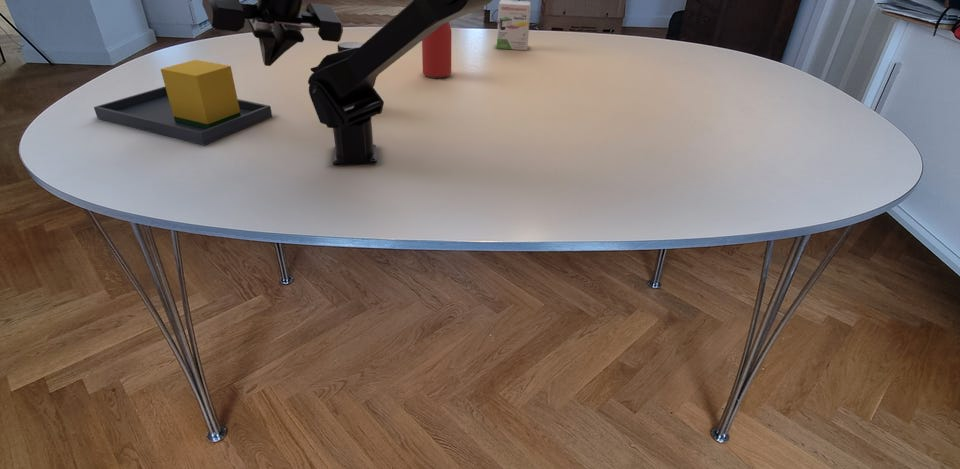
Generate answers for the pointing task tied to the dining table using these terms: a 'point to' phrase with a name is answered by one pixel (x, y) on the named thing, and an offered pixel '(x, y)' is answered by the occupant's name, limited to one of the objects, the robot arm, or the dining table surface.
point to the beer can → (437, 52)
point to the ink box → (513, 24)
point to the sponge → (201, 93)
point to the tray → (157, 117)
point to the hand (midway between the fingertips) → (266, 64)
